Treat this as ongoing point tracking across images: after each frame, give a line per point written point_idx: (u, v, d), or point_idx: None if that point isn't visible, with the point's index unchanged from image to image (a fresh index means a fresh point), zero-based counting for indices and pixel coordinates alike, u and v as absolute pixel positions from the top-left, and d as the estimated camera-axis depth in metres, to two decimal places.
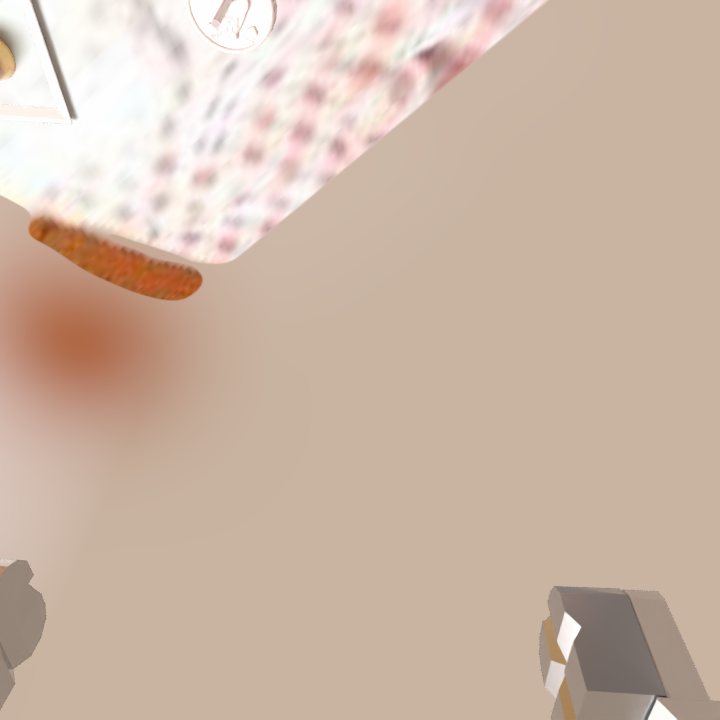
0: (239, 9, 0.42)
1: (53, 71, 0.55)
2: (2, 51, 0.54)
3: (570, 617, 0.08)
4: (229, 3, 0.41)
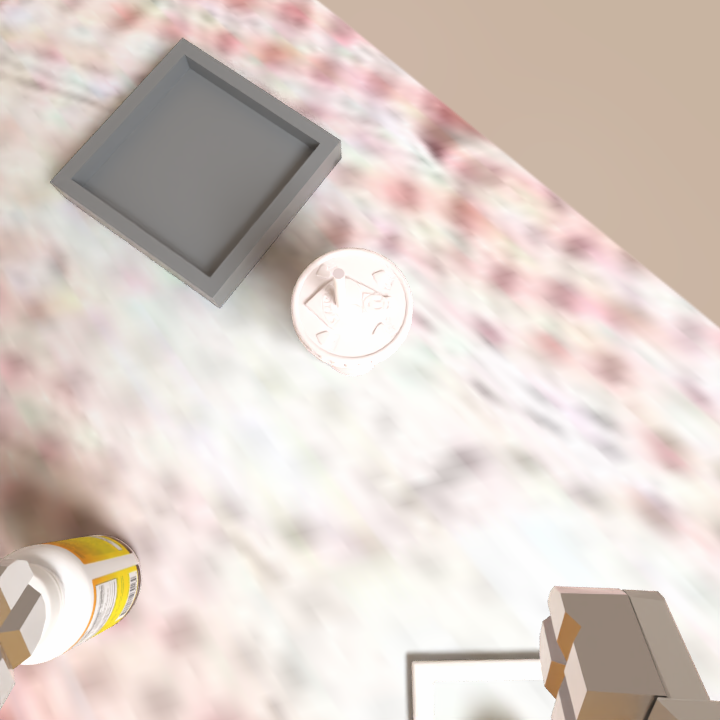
0: (351, 289, 0.31)
1: (526, 661, 0.35)
2: None
3: (570, 617, 0.08)
4: None
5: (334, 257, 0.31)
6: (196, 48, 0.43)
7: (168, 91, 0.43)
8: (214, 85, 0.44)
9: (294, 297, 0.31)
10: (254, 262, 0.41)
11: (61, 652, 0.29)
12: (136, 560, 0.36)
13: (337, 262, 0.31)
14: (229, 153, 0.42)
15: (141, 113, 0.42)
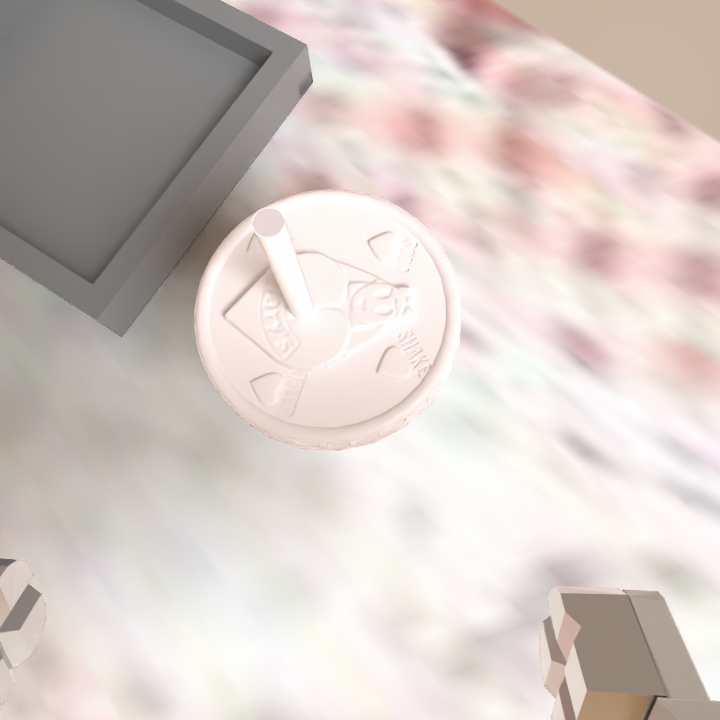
0: (323, 276, 0.14)
1: None
2: None
3: (570, 617, 0.08)
4: None
5: (284, 212, 0.15)
6: None
7: (34, 0, 0.28)
8: None
9: (201, 303, 0.14)
10: (177, 256, 0.25)
11: None
12: None
13: (290, 222, 0.15)
14: (131, 85, 0.26)
15: None
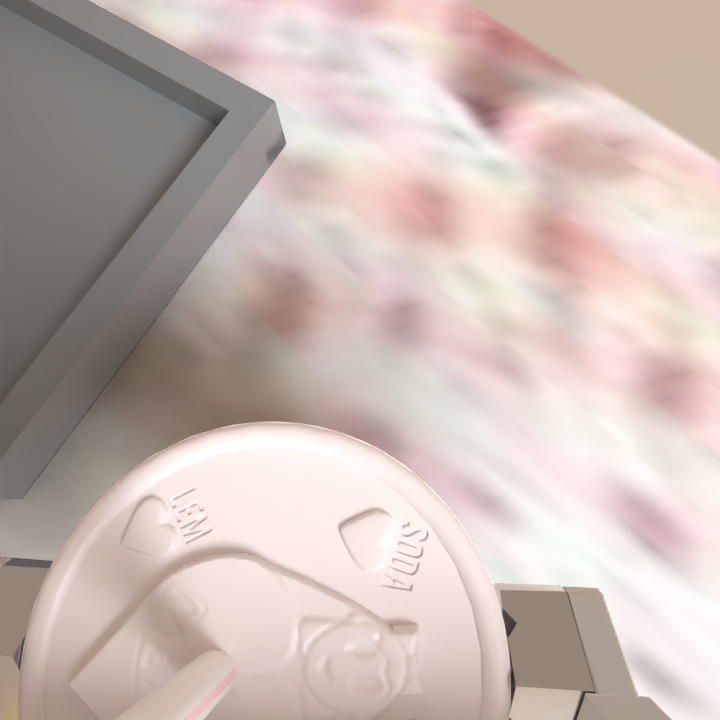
0: (255, 607, 0.08)
1: None
2: None
3: (507, 614, 0.08)
4: (191, 663, 0.07)
5: (192, 465, 0.08)
6: None
7: None
8: (19, 17, 0.21)
9: (34, 648, 0.08)
10: (99, 386, 0.18)
11: None
12: None
13: (202, 486, 0.08)
14: (45, 150, 0.20)
15: None
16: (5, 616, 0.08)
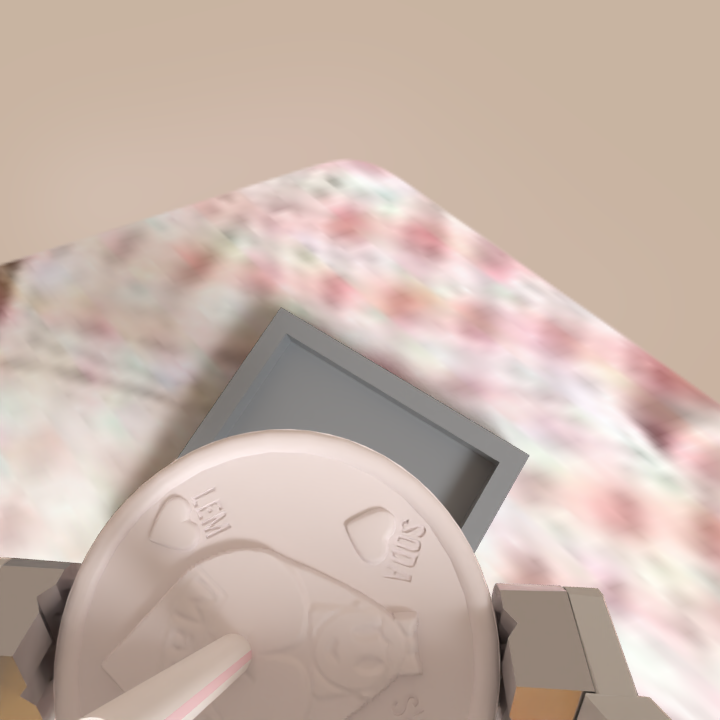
0: (270, 595, 0.08)
1: None
2: None
3: (507, 614, 0.08)
4: (214, 641, 0.08)
5: (213, 468, 0.09)
6: (302, 322, 0.30)
7: (264, 380, 0.31)
8: (328, 365, 0.31)
9: (69, 632, 0.09)
10: None
11: None
12: None
13: (221, 487, 0.09)
14: None
15: (231, 422, 0.30)
16: (5, 616, 0.08)
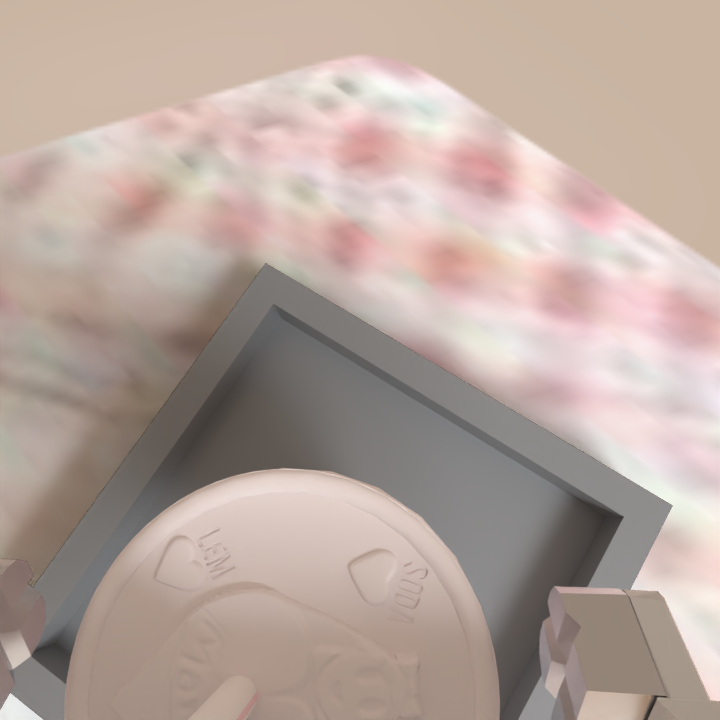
0: (274, 638, 0.09)
1: None
2: None
3: (570, 617, 0.08)
4: (220, 690, 0.08)
5: (217, 508, 0.09)
6: (299, 287, 0.19)
7: (239, 377, 0.20)
8: (338, 355, 0.20)
9: (77, 670, 0.09)
10: None
11: None
12: None
13: (226, 527, 0.09)
14: None
15: (184, 445, 0.19)
16: None
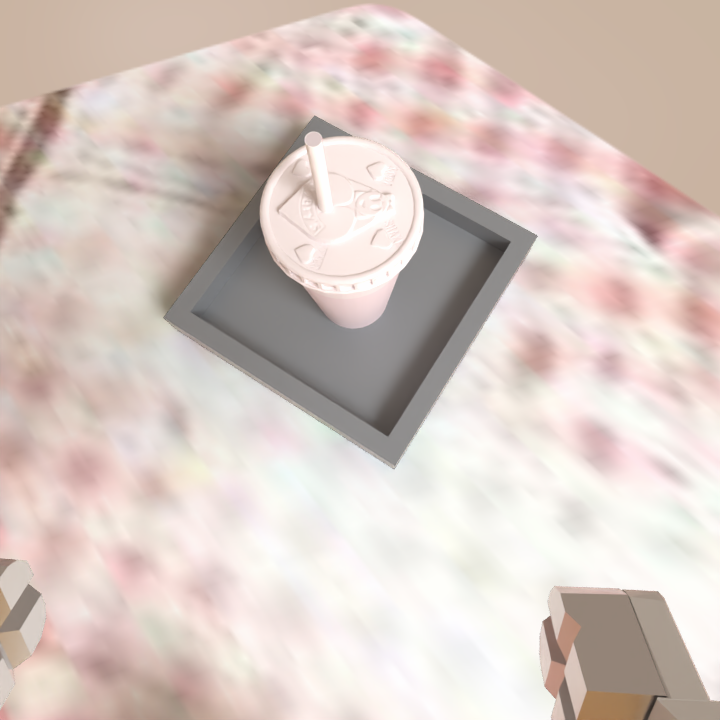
0: (339, 187, 0.23)
1: None
2: None
3: (570, 617, 0.08)
4: None
5: None
6: (333, 128, 0.33)
7: None
8: None
9: (264, 204, 0.23)
10: (434, 404, 0.31)
11: None
12: None
13: None
14: None
15: None
16: None
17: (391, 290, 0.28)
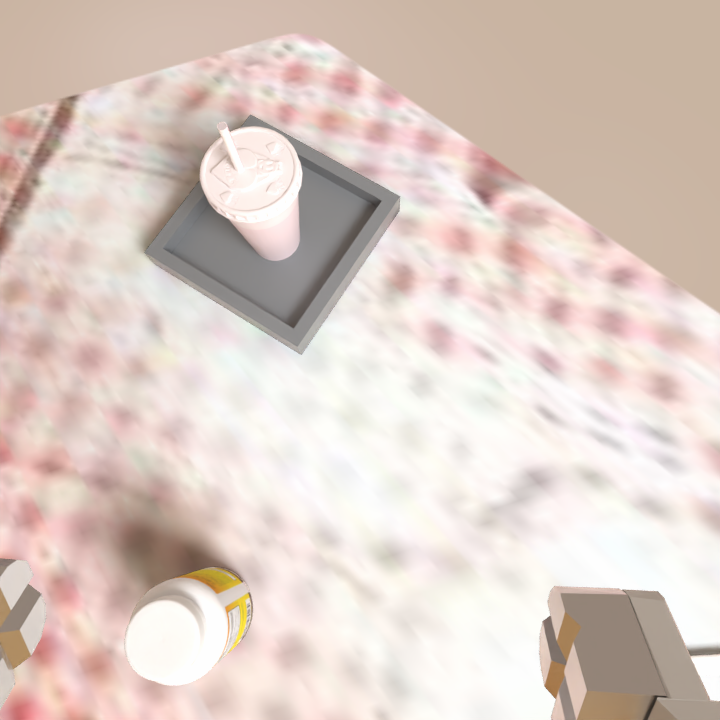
0: (248, 157, 0.37)
1: None
2: None
3: (570, 617, 0.08)
4: None
5: (235, 134, 0.38)
6: (263, 123, 0.48)
7: None
8: None
9: (202, 167, 0.38)
10: (329, 311, 0.46)
11: (205, 673, 0.33)
12: (247, 588, 0.40)
13: (237, 138, 0.38)
14: (299, 214, 0.47)
15: None
16: None
17: (293, 229, 0.43)
